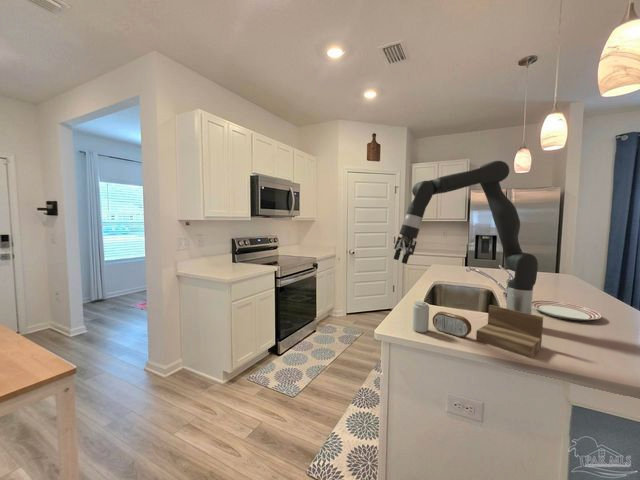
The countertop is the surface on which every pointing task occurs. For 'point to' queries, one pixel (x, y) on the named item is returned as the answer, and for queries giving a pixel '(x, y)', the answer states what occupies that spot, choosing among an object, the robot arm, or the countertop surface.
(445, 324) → the tin
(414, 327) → the beverage can
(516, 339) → the walnut shelf
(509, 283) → the robot arm
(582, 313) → the dinner plate
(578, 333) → the countertop surface
